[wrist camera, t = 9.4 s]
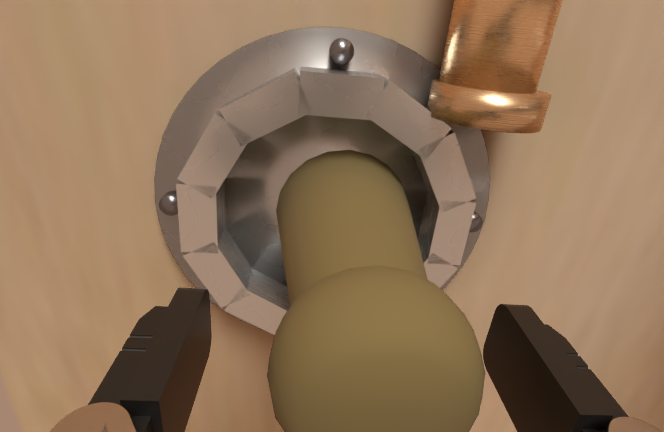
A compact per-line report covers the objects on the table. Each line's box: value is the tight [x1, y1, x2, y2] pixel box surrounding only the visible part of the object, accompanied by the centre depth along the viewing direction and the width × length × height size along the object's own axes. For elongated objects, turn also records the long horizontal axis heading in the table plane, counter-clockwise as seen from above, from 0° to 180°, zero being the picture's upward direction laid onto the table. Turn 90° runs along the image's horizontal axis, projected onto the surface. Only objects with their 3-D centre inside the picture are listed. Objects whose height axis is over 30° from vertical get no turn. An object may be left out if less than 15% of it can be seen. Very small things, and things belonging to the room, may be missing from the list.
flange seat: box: [154, 27, 490, 335], centre depth 18 cm, size 15×15×2 cm
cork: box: [267, 150, 485, 432], centre depth 13 cm, size 6×6×11 cm
